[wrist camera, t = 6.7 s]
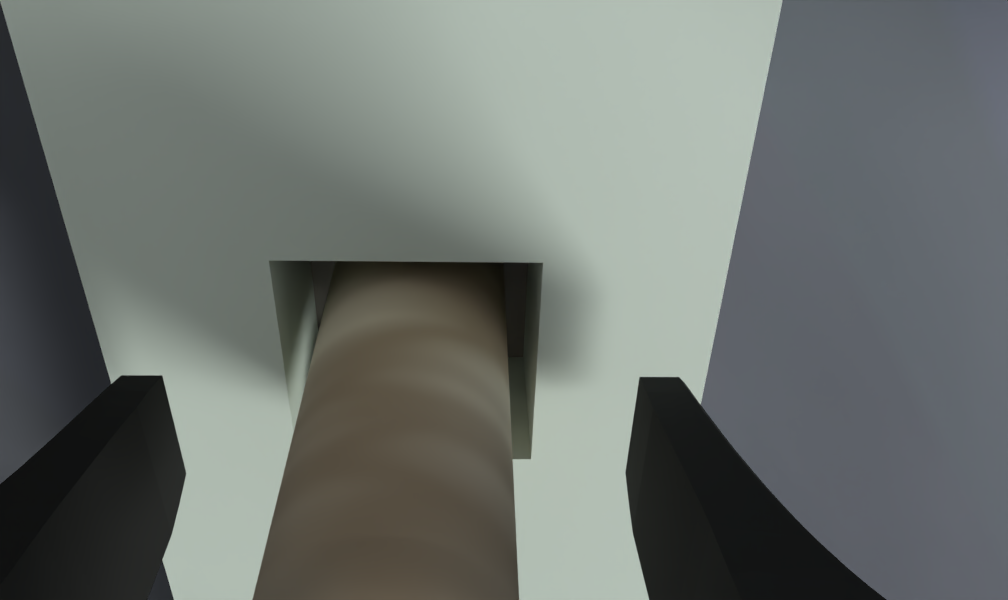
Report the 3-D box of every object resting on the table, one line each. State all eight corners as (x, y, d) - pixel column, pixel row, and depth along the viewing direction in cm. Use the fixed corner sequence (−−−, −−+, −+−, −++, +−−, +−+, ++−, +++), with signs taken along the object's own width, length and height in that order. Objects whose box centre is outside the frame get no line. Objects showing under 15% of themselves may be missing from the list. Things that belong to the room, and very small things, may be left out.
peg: (510, 198, 16) (532, 541, 10) (497, 336, 18) (507, 703, 12) (335, 187, 16) (238, 531, 10) (340, 327, 18) (260, 698, 11)
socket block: (729, -119, 14) (796, -71, 11) (631, 501, 22) (655, 624, 19) (80, -136, 13) (-26, -89, 11) (221, 502, 21) (182, 628, 18)
